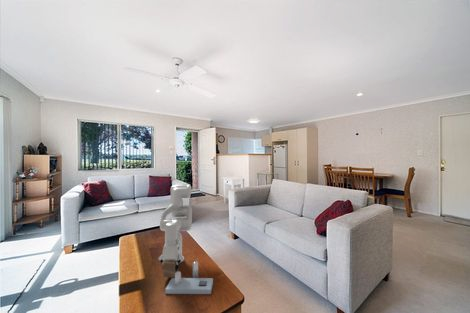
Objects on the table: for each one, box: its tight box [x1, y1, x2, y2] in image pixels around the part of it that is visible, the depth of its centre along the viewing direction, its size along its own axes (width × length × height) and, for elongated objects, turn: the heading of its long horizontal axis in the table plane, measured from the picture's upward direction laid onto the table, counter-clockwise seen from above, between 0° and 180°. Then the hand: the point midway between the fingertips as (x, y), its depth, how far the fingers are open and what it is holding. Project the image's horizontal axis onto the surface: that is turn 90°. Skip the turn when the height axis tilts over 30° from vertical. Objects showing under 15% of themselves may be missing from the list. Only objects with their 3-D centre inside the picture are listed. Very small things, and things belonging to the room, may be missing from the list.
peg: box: [192, 260, 199, 278], centre depth 118 cm, size 3×3×10 cm
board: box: [164, 271, 214, 295], centre depth 109 cm, size 10×26×8 cm, turn 90°
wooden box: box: [162, 261, 179, 278], centre depth 118 cm, size 7×7×9 cm
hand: (170, 269), depth 118 cm, fingers closed on wooden box, 7 cm apart
